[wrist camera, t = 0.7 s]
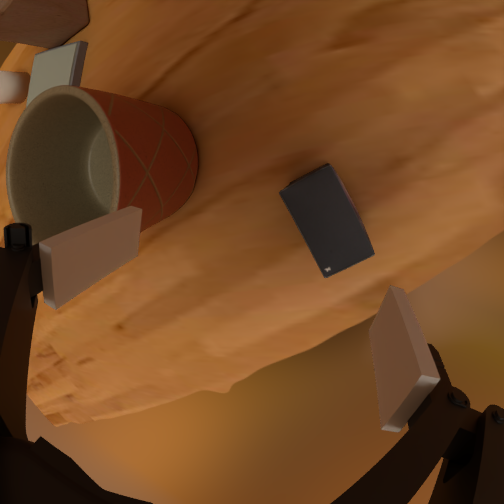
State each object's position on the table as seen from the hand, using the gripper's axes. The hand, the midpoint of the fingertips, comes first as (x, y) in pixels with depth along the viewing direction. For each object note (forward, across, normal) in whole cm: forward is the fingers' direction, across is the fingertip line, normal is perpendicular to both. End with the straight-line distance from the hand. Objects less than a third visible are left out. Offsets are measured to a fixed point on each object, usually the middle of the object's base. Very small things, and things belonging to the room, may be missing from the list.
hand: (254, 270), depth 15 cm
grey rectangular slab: (+28, -48, +8) cm, 56 cm away
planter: (+28, -23, -1) cm, 36 cm away
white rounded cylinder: (+28, -61, +10) cm, 68 cm away
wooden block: (+28, -50, +24) cm, 62 cm away
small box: (+28, +4, -1) cm, 28 cm away
